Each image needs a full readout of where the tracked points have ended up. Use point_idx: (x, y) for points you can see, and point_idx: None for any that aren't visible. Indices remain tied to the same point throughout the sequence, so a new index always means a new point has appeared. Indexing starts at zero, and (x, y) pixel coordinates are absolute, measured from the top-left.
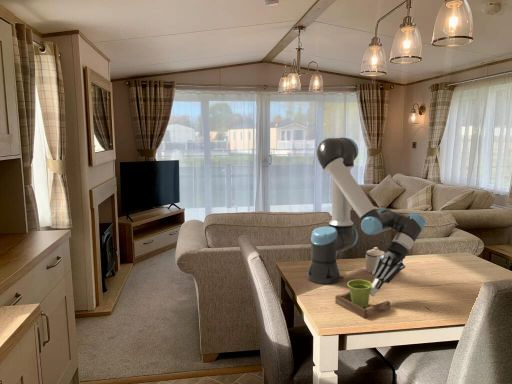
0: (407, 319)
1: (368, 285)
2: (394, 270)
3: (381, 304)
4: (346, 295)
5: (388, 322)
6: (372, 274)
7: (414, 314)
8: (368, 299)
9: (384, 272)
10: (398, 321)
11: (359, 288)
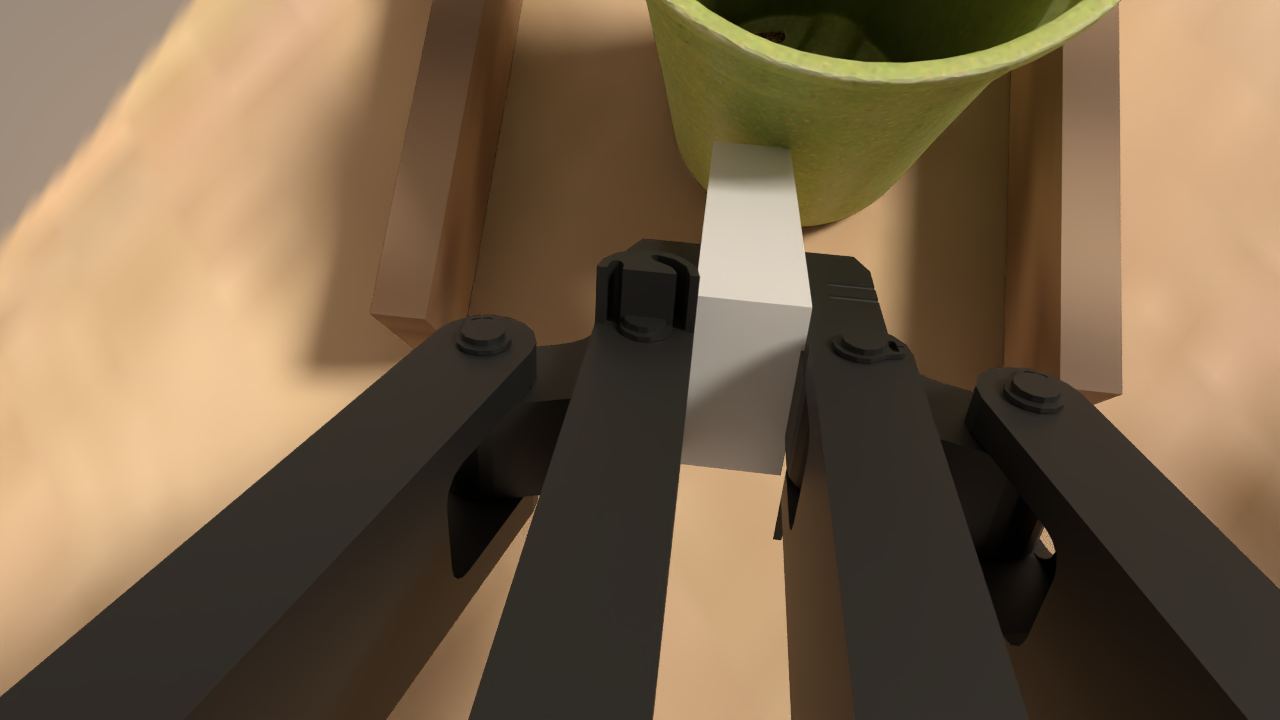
0: (81, 266)
1: (800, 90)
2: (84, 644)
3: (419, 121)
4: None
5: (229, 14)
6: (1037, 379)
7: (66, 486)
8: (668, 91)
9: (621, 493)
10: (147, 128)
11: (969, 98)
